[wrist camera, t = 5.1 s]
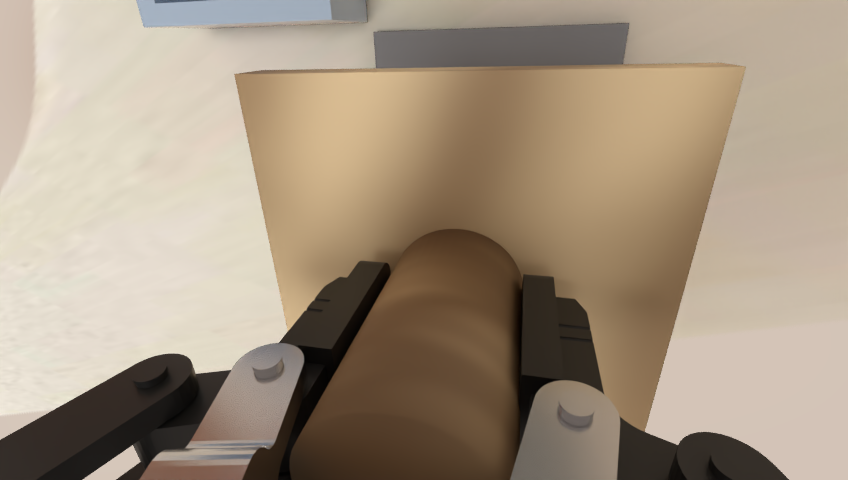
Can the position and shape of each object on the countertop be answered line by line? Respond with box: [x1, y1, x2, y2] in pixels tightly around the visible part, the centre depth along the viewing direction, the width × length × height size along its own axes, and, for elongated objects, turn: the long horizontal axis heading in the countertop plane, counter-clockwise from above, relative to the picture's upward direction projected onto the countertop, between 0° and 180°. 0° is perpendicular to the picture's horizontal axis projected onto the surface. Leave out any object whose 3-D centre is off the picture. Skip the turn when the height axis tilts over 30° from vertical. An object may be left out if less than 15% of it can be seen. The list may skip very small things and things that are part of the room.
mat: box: [374, 23, 629, 69], centre depth 25 cm, size 13×13×1 cm
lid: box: [234, 63, 746, 480], centre depth 9 cm, size 11×11×7 cm
